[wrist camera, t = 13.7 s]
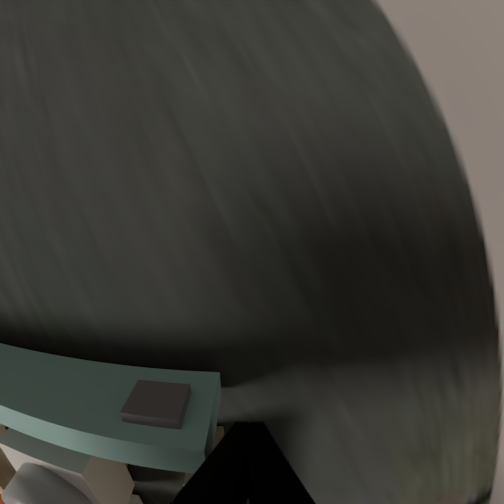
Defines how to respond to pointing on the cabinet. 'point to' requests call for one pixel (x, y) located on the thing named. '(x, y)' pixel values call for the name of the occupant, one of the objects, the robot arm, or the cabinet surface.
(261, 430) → the robot arm
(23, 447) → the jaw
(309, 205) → the cabinet surface
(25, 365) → the panel
